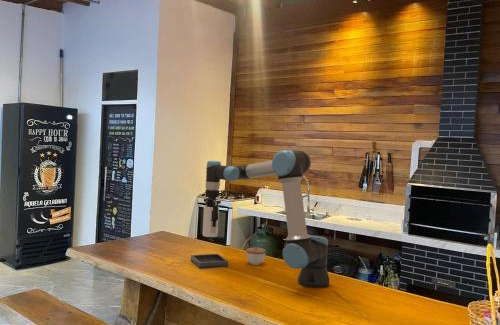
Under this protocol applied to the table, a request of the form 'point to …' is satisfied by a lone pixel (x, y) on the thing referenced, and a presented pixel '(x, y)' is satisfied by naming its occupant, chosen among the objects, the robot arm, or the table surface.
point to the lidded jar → (255, 255)
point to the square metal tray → (209, 261)
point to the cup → (209, 222)
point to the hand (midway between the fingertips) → (210, 231)
